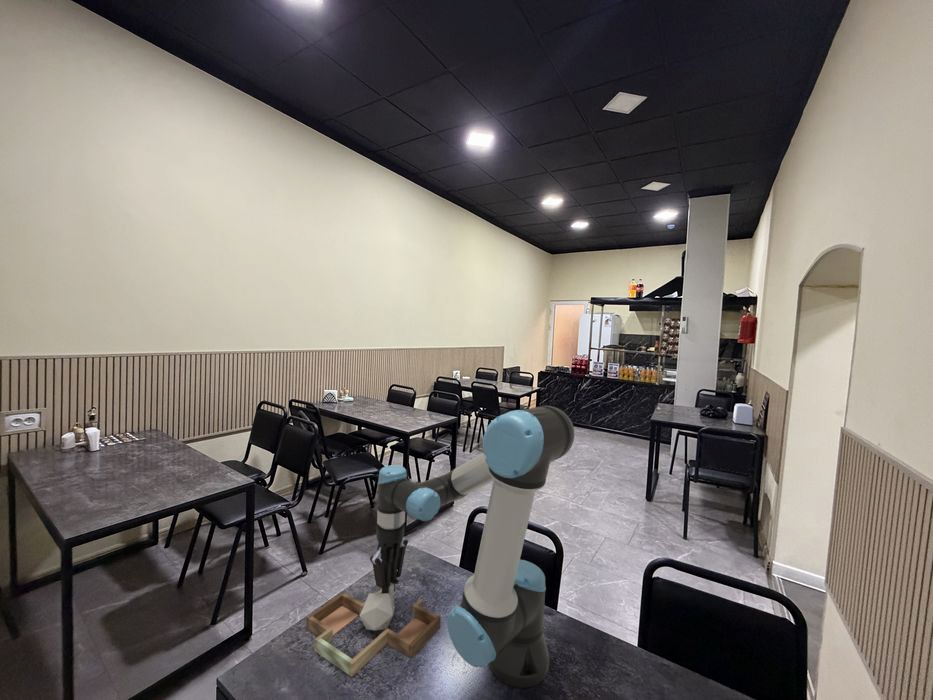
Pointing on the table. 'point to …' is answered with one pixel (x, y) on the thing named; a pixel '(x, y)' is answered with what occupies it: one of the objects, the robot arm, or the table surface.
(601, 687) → the table surface
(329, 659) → the channel
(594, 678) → the table surface
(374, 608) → the die
